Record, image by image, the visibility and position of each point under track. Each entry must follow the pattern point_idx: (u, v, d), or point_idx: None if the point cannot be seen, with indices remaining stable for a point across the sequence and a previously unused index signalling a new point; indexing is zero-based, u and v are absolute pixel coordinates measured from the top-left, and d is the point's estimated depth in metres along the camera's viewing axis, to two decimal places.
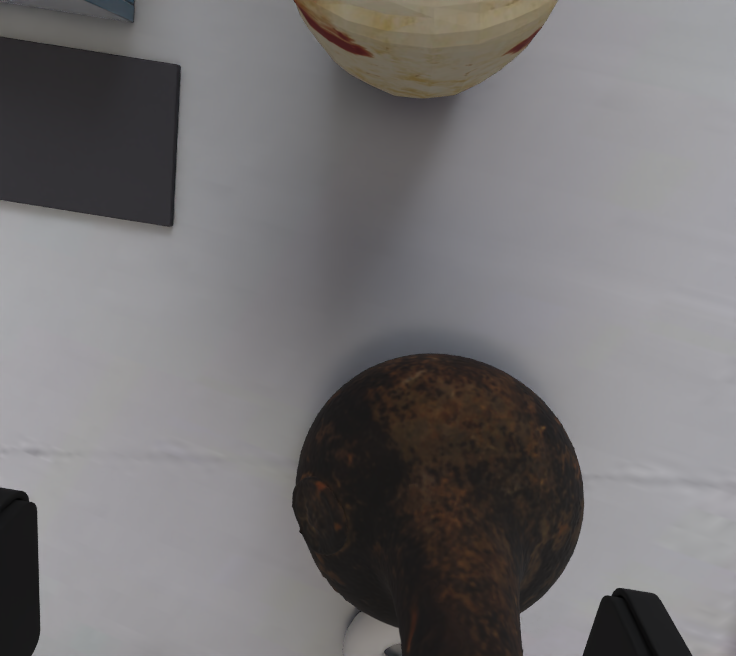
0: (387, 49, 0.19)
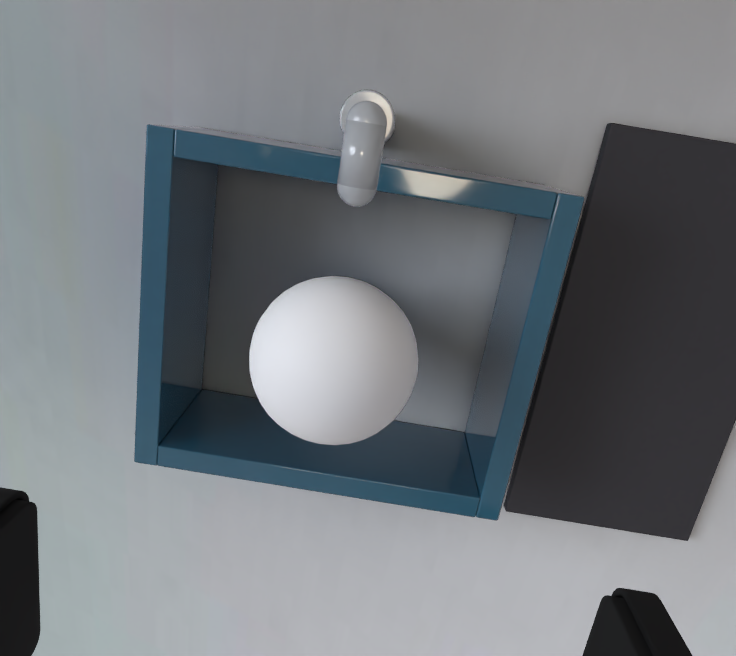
0: None
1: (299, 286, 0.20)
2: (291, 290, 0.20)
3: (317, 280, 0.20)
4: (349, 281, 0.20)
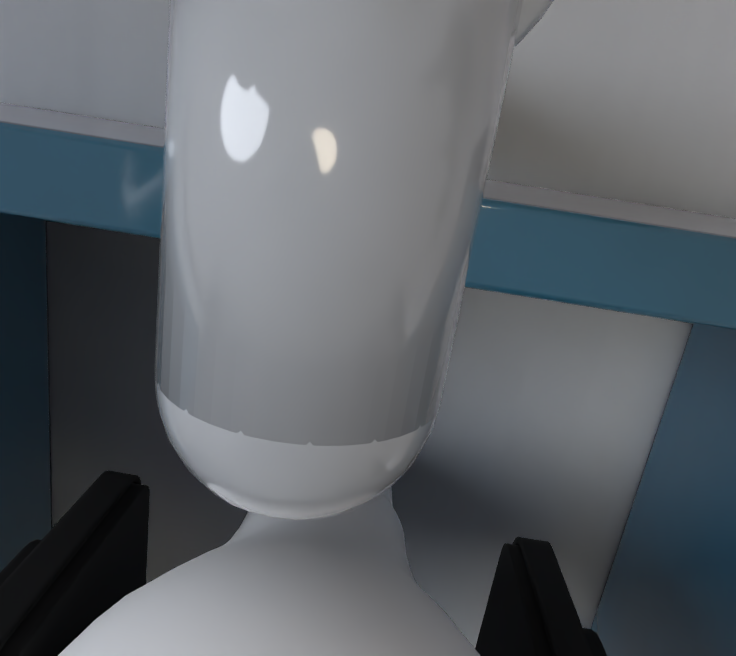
0: None
1: None
2: None
3: (187, 631, 0.05)
4: (306, 642, 0.05)
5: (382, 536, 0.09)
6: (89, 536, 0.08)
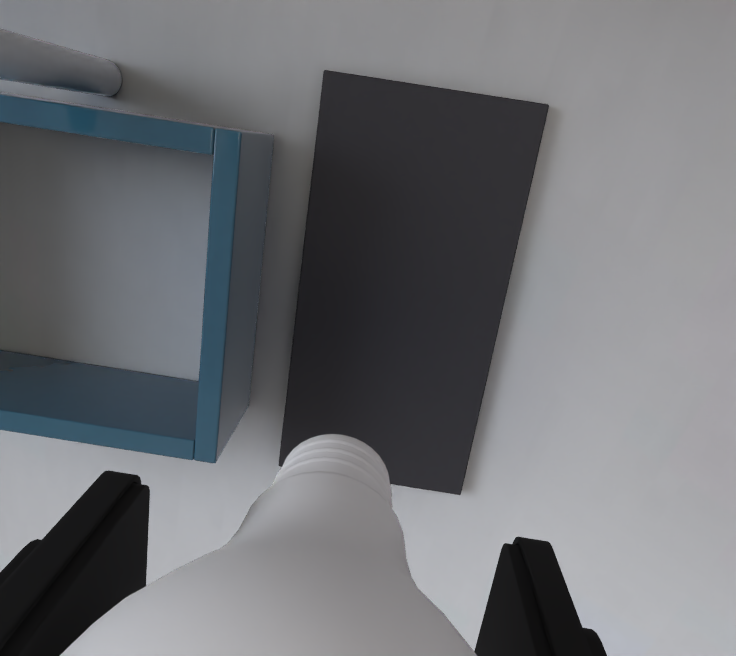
0: None
1: None
2: None
3: (185, 635, 0.05)
4: (305, 645, 0.05)
5: (381, 538, 0.09)
6: (90, 536, 0.08)
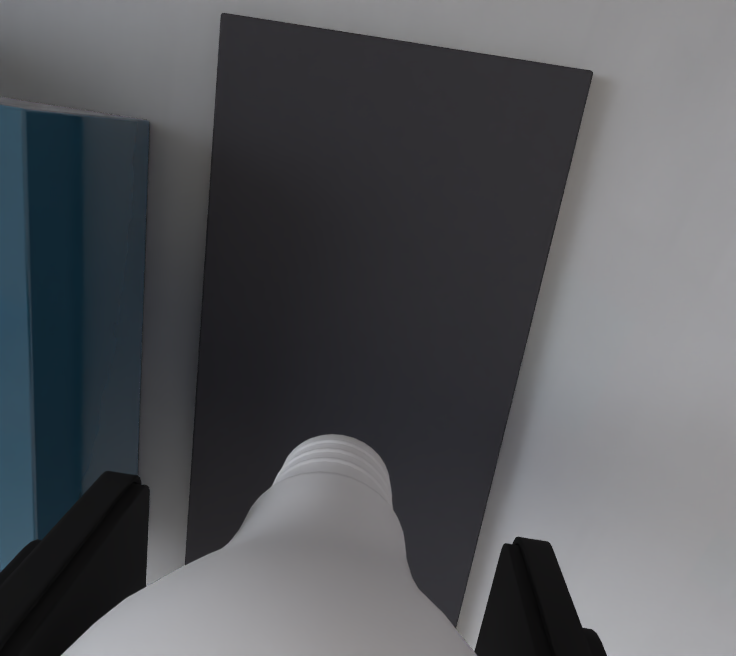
0: None
1: None
2: None
3: (186, 635, 0.05)
4: (305, 646, 0.05)
5: (382, 538, 0.09)
6: (89, 536, 0.08)
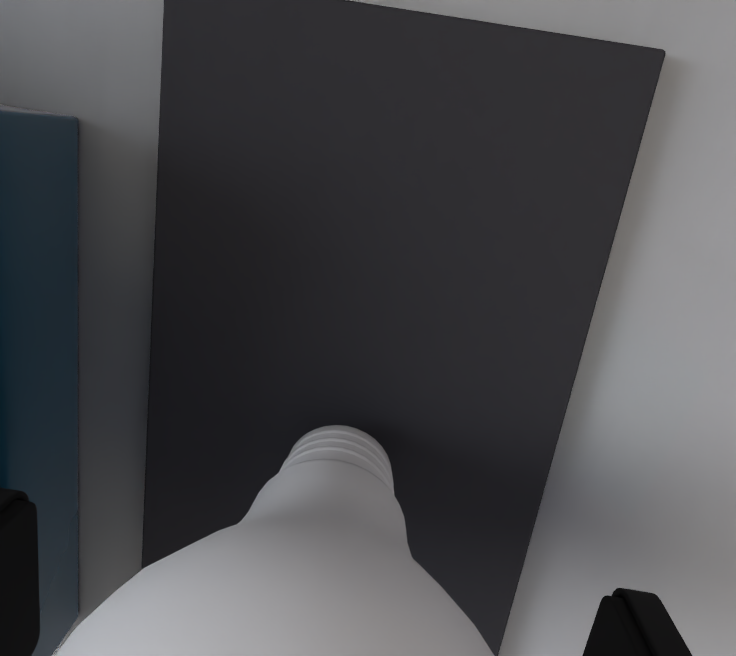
0: None
1: (139, 619, 0.06)
2: (113, 632, 0.06)
3: (203, 595, 0.06)
4: (313, 604, 0.06)
5: (383, 520, 0.10)
6: None
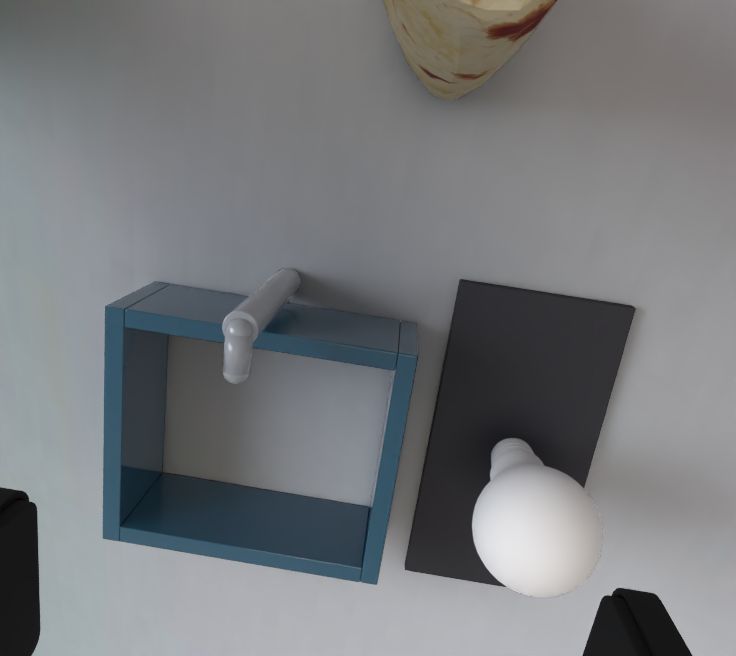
0: None
1: (516, 480, 0.28)
2: (510, 483, 0.28)
3: (529, 475, 0.28)
4: (553, 477, 0.27)
5: None
6: None
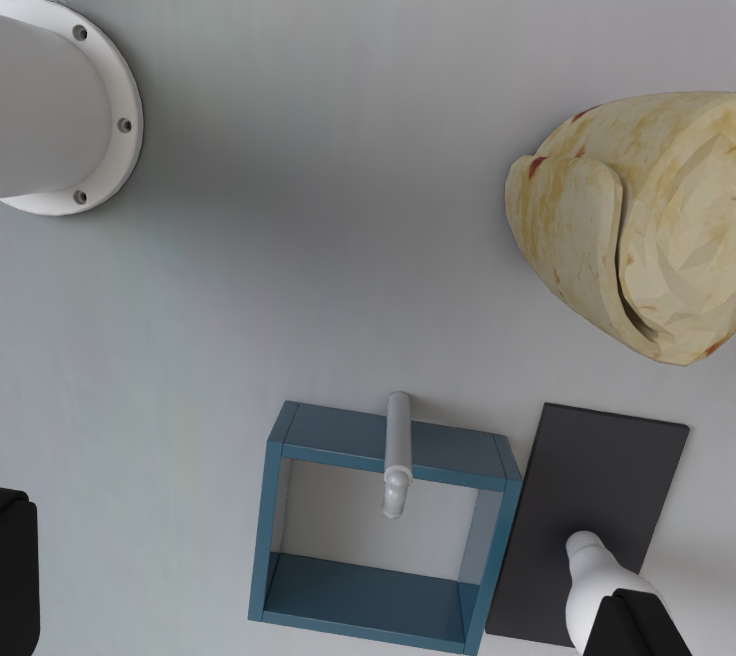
0: None
1: (606, 587, 0.35)
2: (601, 589, 0.35)
3: (616, 582, 0.35)
4: (635, 584, 0.35)
5: (619, 564, 0.39)
6: None
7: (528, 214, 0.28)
